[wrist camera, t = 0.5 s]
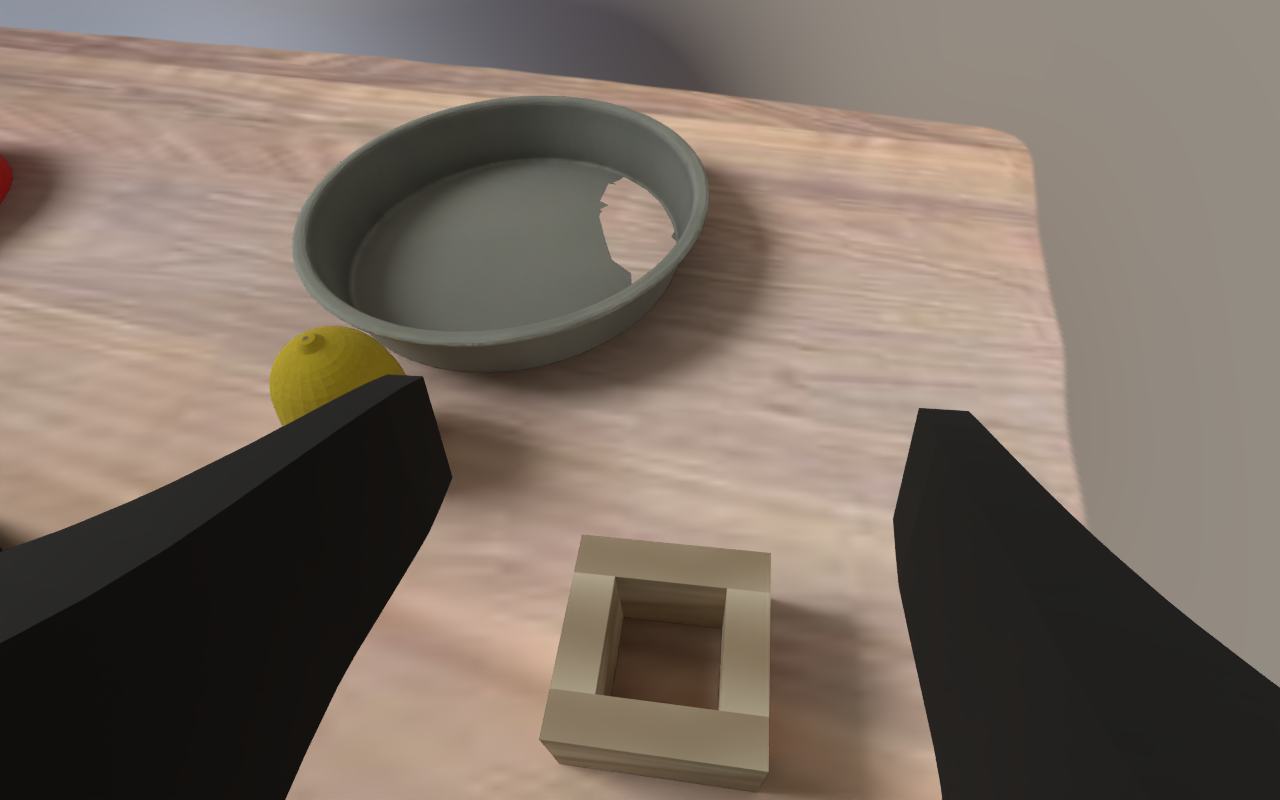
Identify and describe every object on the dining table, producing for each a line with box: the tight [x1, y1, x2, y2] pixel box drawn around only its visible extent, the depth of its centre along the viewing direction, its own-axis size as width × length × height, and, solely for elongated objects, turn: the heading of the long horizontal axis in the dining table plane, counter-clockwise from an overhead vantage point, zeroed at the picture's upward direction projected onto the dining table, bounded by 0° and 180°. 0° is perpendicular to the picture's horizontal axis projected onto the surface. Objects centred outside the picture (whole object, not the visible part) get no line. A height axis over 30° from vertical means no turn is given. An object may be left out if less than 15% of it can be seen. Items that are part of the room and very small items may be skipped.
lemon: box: [270, 326, 405, 426], centre depth 29 cm, size 6×6×8 cm
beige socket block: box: [539, 535, 771, 792], centre depth 23 cm, size 7×7×4 cm
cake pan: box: [292, 96, 709, 372], centre depth 40 cm, size 25×25×4 cm
